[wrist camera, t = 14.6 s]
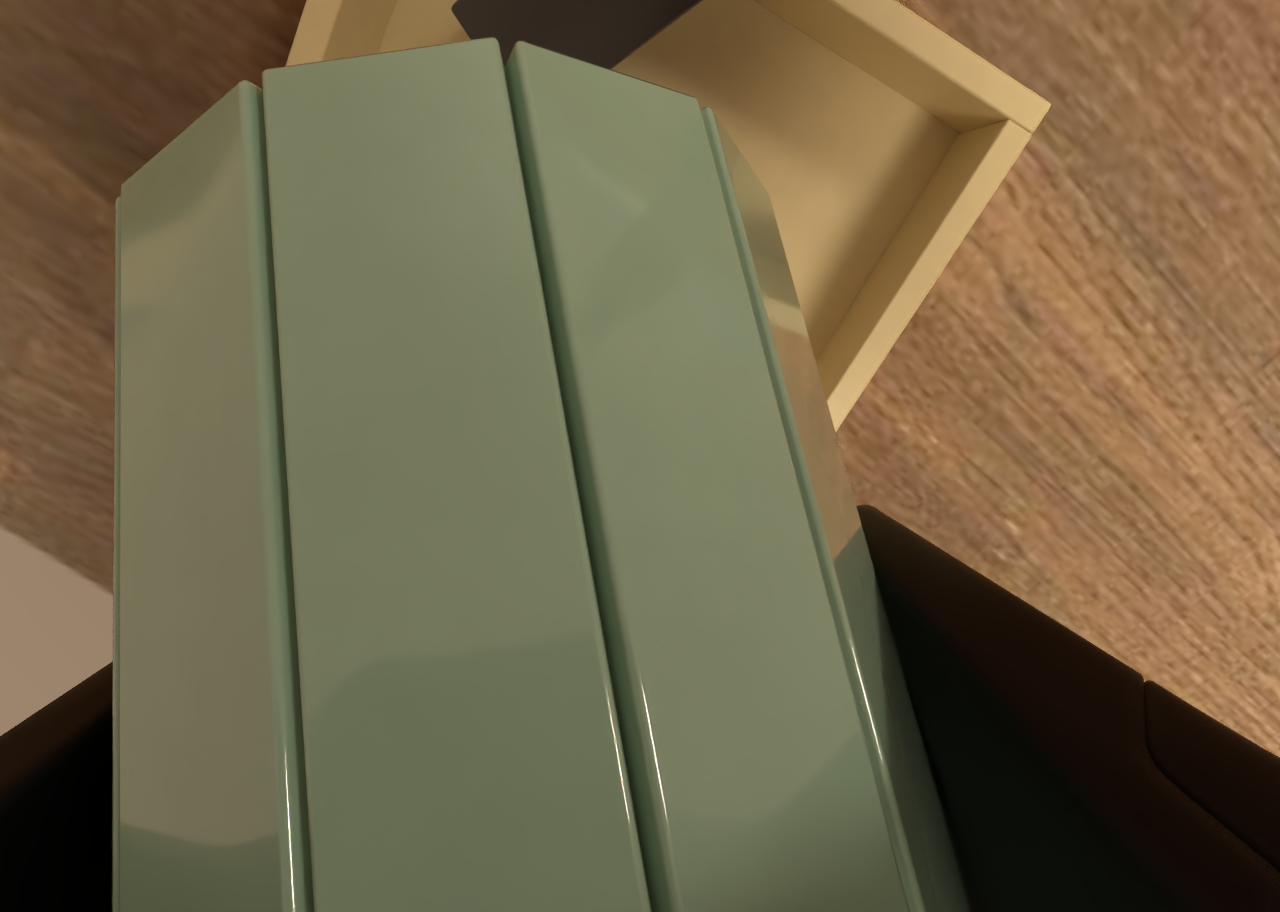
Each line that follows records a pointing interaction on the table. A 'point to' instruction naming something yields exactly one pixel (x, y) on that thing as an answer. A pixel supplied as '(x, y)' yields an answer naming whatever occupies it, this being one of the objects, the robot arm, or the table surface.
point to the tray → (807, 140)
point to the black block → (571, 25)
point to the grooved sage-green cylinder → (488, 517)
